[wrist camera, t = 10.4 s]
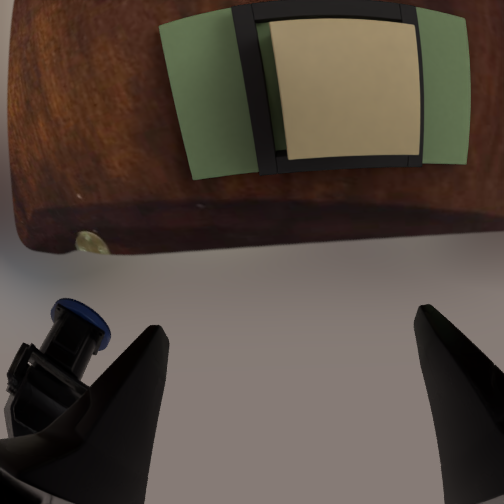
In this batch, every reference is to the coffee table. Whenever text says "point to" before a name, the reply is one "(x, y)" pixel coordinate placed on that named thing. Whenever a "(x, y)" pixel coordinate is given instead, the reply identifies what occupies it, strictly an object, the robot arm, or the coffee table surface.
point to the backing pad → (268, 96)
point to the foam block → (347, 87)
